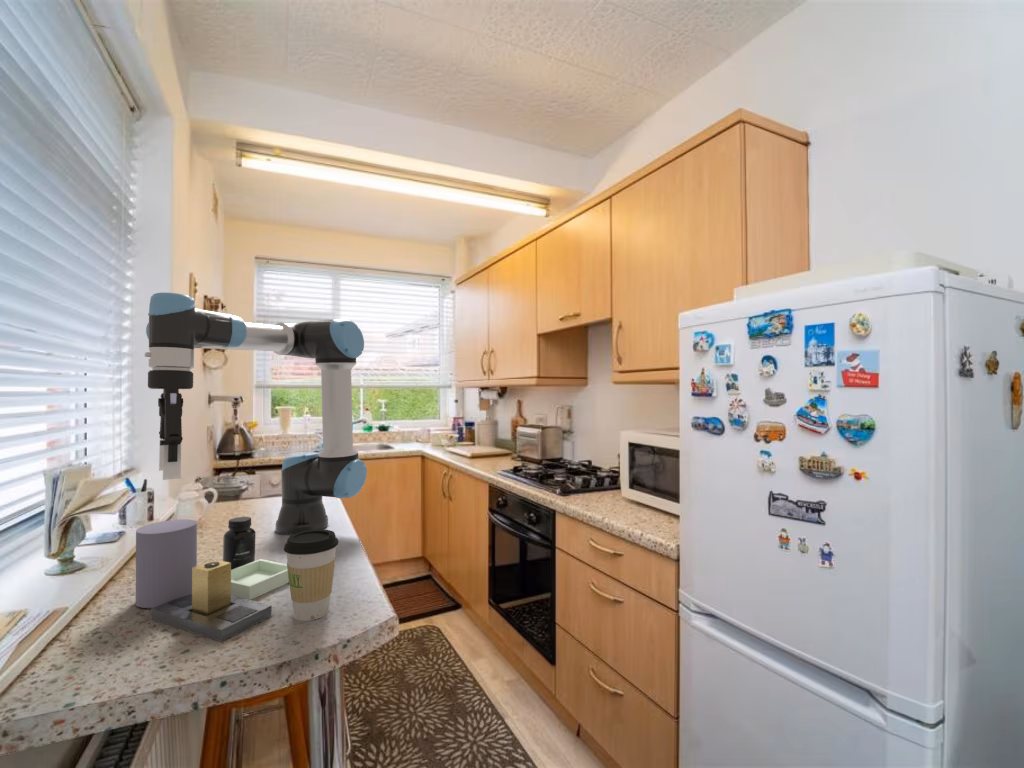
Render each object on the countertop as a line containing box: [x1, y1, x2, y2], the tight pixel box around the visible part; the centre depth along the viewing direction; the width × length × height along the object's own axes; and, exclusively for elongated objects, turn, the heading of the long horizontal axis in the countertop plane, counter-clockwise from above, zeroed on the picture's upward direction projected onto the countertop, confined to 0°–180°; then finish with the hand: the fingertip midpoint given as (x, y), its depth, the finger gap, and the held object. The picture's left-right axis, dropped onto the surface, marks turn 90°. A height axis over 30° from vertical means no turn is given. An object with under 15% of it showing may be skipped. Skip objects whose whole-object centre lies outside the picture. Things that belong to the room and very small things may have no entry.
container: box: [135, 518, 198, 610], centre depth 98 cm, size 10×10×15 cm
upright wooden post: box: [192, 559, 231, 616], centre depth 90 cm, size 4×4×10 cm
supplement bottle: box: [222, 516, 256, 570], centre depth 114 cm, size 7×7×12 cm
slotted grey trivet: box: [150, 593, 273, 642], centre depth 90 cm, size 10×20×2 cm, turn 67°
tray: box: [231, 558, 289, 600], centre depth 105 cm, size 12×12×3 cm
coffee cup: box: [283, 529, 339, 622], centre depth 91 cm, size 10×10×15 cm
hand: (169, 474), depth 95 cm, fingers open, 13 cm apart
